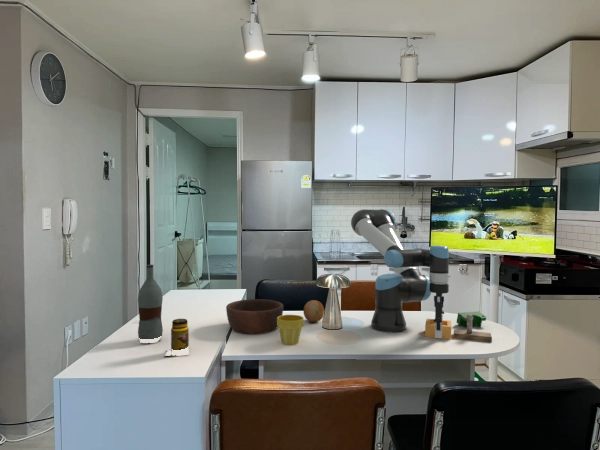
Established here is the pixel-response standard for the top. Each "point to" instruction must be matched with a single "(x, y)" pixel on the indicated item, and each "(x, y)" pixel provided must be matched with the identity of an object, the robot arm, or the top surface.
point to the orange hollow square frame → (431, 329)
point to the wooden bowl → (254, 315)
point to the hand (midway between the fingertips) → (438, 333)
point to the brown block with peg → (472, 332)
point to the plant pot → (290, 328)
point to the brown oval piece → (313, 311)
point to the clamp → (476, 320)
